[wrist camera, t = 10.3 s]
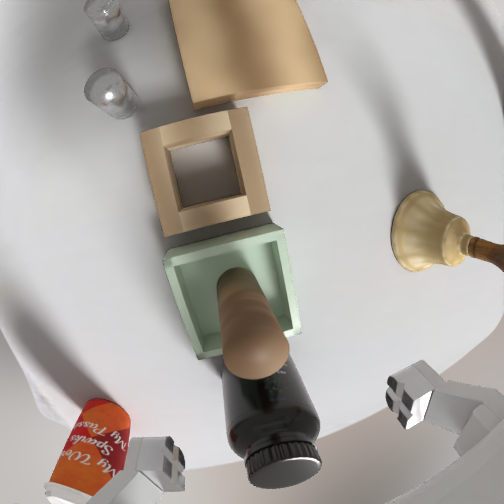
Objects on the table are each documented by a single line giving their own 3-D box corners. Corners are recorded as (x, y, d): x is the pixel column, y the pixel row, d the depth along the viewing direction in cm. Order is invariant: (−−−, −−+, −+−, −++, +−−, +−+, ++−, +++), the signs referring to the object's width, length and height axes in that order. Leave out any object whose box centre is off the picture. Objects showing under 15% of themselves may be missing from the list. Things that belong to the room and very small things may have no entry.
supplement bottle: (265, 326, 23) (310, 433, 11) (304, 369, 25) (353, 462, 13) (205, 367, 23) (210, 479, 12) (249, 404, 25) (272, 501, 14)
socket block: (241, 117, 18) (247, 106, 16) (261, 206, 20) (270, 210, 17) (149, 139, 18) (139, 132, 15) (170, 229, 20) (164, 237, 17)
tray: (273, 222, 21) (283, 229, 18) (291, 315, 23) (301, 332, 20) (168, 249, 20) (162, 260, 17) (198, 339, 22) (198, 359, 19)
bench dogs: (128, 16, 14) (114, -14, 9) (140, 113, 17) (121, 94, 12) (103, 26, 14) (84, -2, 9) (111, 123, 17) (85, 108, 12)
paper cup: (138, 400, 23) (117, 516, 10) (141, 440, 25) (130, 535, 11) (71, 382, 22) (27, 481, 8) (82, 424, 23) (55, 511, 10)
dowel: (252, 262, 21) (283, 317, 12) (261, 300, 22) (293, 368, 13) (211, 273, 20) (214, 335, 12) (222, 310, 21) (232, 385, 13)
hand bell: (411, 173, 22) (562, 189, 6) (453, 215, 24) (572, 249, 8) (377, 251, 23) (524, 327, 8) (424, 282, 25) (537, 348, 10)
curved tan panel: (277, -11, 16) (283, -25, 13) (315, 90, 19) (327, 81, 17) (169, 3, 15) (166, -12, 13) (194, 112, 18) (192, 102, 16)
